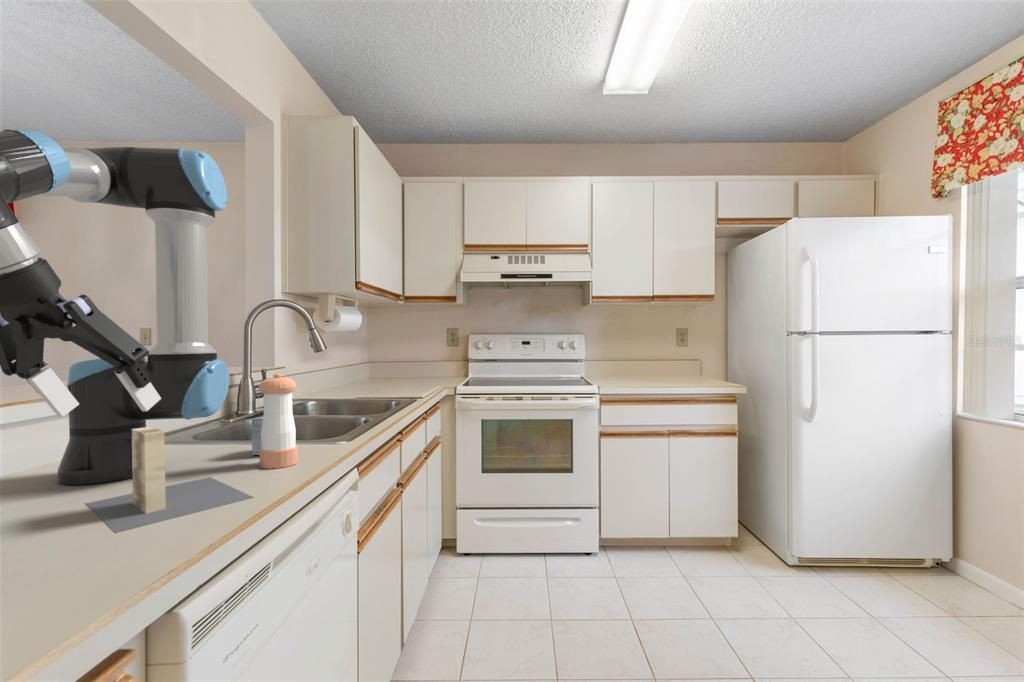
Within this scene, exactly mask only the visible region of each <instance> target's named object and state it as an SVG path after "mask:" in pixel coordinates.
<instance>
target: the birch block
mask: <svg viewBox="0 0 1024 682" xmlns="http://www.w3.org/2000/svg"><path fill="white" fill-rule="evenodd" d="M165 441H166V440H165V430H162V429H158V428H155V427H153V426H146V427H144V428H136V429H132V472H133V477H132V494H133V504H134V505H135V506H137V507H138V508H139V509H141V510H142V511H143V512H145V513H150V512H155V511H159V510H163V509H166V495H165V487H166V459H165V458H166V453H165V452H166V448H165V443H166V442H165Z"/></svg>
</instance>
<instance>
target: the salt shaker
mask: <svg viewBox="0 0 1024 682" xmlns="http://www.w3.org/2000/svg"><path fill="white" fill-rule="evenodd" d="M296 388H297V383H296V381H294V379H293V378H290V377H284V376H282V374H281V373H274V374H273V377H269V378H268V377H267V378H265V379H263V380H262V381H261V382H260V384H259V386H258V389H259V392H260V394H261V393H262V394H263V422H262V429H261V446H262V448H261V449H260V451H259V452H260V456H259V467H260V468H261V469H269V470H270V469H272V468H274V469H281V467H283V468H287V466H288V467H291V465H292V466H294V464H295V465H297V464H298V462H299V460H298V457H299V456H298V453H299V451H298V450H299V449H298V445H297V444H296V443H297V442H296V441H297V440H296V437H297V433H296V432H297V429H296V424H295V423H296V422H295V419H294V414H293V392H294V391H295V390H296ZM272 470H273V469H272Z"/></svg>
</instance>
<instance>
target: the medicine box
mask: <svg viewBox="0 0 1024 682" xmlns="http://www.w3.org/2000/svg"><path fill="white" fill-rule="evenodd" d="M263 416H264V415H263ZM263 416H259V417H255V418H251V452H252V454H251V455H252V456H253V455H259V456H258V457H260V452H259V451H260V449H261V448H262V446H261V429H262V422H263Z"/></svg>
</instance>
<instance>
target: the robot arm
mask: <svg viewBox="0 0 1024 682" xmlns="http://www.w3.org/2000/svg"><path fill="white" fill-rule="evenodd" d="M226 187H227V185H226V182H225V179H224V177H223V173H222V171H221V170H220V168H219V165H218V164H217V163H216V160H214V158H213V157H211V155H210V154H208V153H206V152H205V151H202V150H199V149H198V150H197V149H186V148H183V147H179V148H165V147H164V148H162V147H134V146H133V147H132V146H113V147H112V146H111V147H94V148H93V147H91V148H90V147H87V148H83V147H77V146H75V147H74V146H69V147H65V148H62V147H61V146H60V145H59V143H57V142H56V141H55V140H54V139H52V138H51V137H49V136H47V135H46V134H44V133H42V132H39V131H36V130H32V129H27V128H26V129H23V128H22V129H7V128H6V129H4V130H2V131H0V369H1V372H2V373H3V374H4V375H6V376H7V377H8V376H9V377H10V376H11V377H12V376H13V375H16V376H18V377H19V379H23V380H26V381H27V383H29V385H30V386H31V387H32V388H33V389H34V390H35V391H36V393H38V394H39V395H40V397H41V398H42V400H44V401H45V403H46V404H47V405H48V406H49V407H50V409H51V410H52V411H53V412H54V414H55V415H56V416H57V417H58V418H63V417H65V416H66V415H67V414H68V425H69V426H68V428H69V429H68V430H69V434H68V435H69V438H68V442H67V444H66V447H65V451H64V452H63V456H62V458H61V461H60V463H59V466H58V467H57V483H59V484H61V485H68V486H75V485H76V486H77V485H78V486H79V485H81V486H82V485H93V484H102V483H109V482H115V481H121V480H125V479H126V480H127V479H130V478H131V479H132V478H133V472H132V429H136V428H144V427H147V421H151V420H175V419H179V420H180V419H182V420H186V421H188V420H192V419H200V418H208V417H210V416H211V417H212V416H213V415H215V414H216V413H217V412H218V411H219V410H220V409H221V407H222V406H223V404H224V403H225V400H226V398H227V396H228V392H229V387H230V378H231V377H230V371H229V370H228V369H229V368H228V365H227V363H226V362H225V361H222V360H220V359H218V351H217V350H216V349H215V348H214V347H213V346H212V345H210V344H209V315H208V313H209V311H208V310H209V308H208V306H209V305H208V303H209V302H208V299H209V298H208V236H207V234H208V232H207V229H208V228H209V227H210V226H211V225H213V224H215V222H216V212H220V211H223V210H224V209H225V208H226V206H227V204H228V192H227V188H226ZM31 197H63V198H64V197H67V198H69V199H72V200H73V201H76V202H80V203H95V204H103V205H113V206H118V207H124V208H135V209H144V210H145V215H146V216H147V217H148V218H149V219H150V220H152V221H153V223H154V226H155V230H154V231H155V233H154V235H155V236H154V237H155V238H154V239H155V285H156V286H155V291H156V292H155V303H156V304H155V305H156V306H155V307H156V315H155V316H156V318H155V319H156V344H155V346H154V347H152V348H151V349H150V350H148V349H147V348H146V347H145V346H144V345H142V343H140V342H139V341H138V340H137V339H135V338H134V337H133V336H131V334H129V333H128V332H127V331H125V330H124V329H123V328H122V327H121V326H119V324H117V323H116V322H115V321H113V320H112V319H111V318H110V317H108V316H107V315H106V314H105V313H104V312H103V311H101V310H100V309H99V308H98V307H97V306H96V304H95V303H94V302H93V300H92V299H91V298H90V297H89V296H88V295H86V294H81V295H79V296H76V297H74V298H73V299H70V300H67V299H66V298H64V297H63V296H62V295H61V294H60V293H59V291H60V290H59V289H60V287H61V286H62V281H61V279H60V277H59V276H58V274H57V273H56V272H55V270H54V269H53V267H52V266H51V265H50V263H49V262H48V261H47V259H44V258H43V257H39V255H40V253H41V250H40V248H39V246H38V245H37V244H36V242H35V241H34V239H33V238H32V237H31V236H30V233H28V232H27V230H26V229H25V228H24V226H23V225H22V223H21V221H19V220H18V218H17V217H16V215H15V213H14V212H13V211H12V209H11V207H10V206H9V204H11V203H15V202H18V201H22V200H25V199H28V198H31ZM73 324H74V326H73ZM45 339H54V340H55V339H58V340H61V341H62V342H72V343H73V344H75V345H77V346H78V347H80V348H82V349H83V350H86V351H87V352H89V353H91V354H92V355H94V356H96V357H97V358H96V359H95V358H94V359H89V360H83V361H77V362H75V363H73V364H72V365H71V366H70V368H69V370H68V377H67V378H68V379H67V380H68V381H67V384H66V385H65V384H64V383H63V381H62V380H61V379H60V378H59V377H58V375H57V374H56V373H55V371H54V370H53V369H52V368H51V367H46V366H47V365H48V363H46V362H45V361H44V352H45V351H44V350H45V349H44V347H45ZM146 357H147V359H146ZM13 361H14V362H13ZM44 367H45V368H44ZM43 368H44V369H43Z"/></svg>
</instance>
